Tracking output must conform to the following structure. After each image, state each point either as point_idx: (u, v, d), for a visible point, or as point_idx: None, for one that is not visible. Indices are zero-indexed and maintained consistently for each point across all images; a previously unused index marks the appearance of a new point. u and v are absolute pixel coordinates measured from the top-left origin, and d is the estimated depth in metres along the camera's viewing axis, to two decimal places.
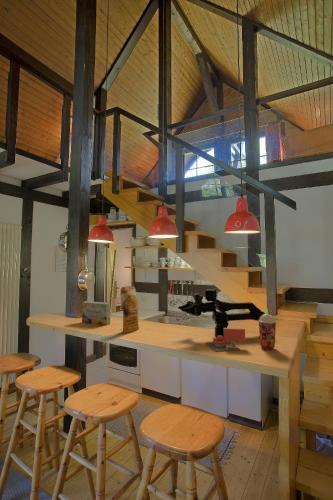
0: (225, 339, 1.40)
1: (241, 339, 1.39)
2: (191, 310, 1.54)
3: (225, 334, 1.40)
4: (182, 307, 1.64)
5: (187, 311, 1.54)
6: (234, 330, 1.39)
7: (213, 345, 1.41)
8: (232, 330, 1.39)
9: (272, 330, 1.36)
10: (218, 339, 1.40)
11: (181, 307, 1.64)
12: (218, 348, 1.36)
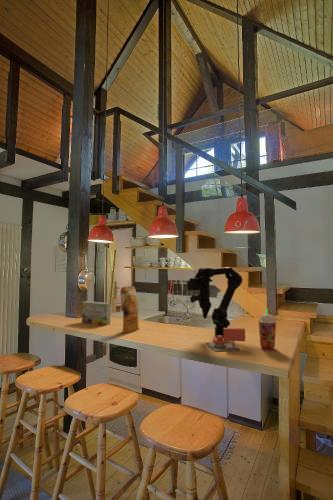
0: (225, 339, 1.40)
1: (241, 339, 1.39)
2: (205, 309, 1.52)
3: (225, 334, 1.40)
4: None
5: (206, 313, 1.52)
6: (234, 330, 1.39)
7: (213, 345, 1.41)
8: (232, 330, 1.39)
9: (272, 330, 1.36)
10: (218, 339, 1.40)
11: None
12: (218, 348, 1.36)
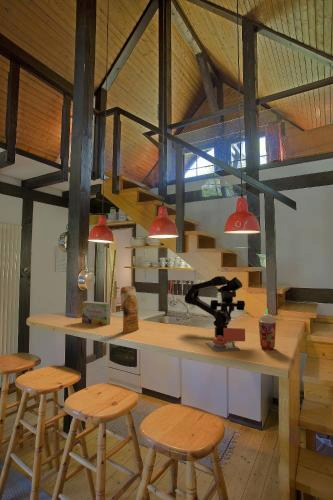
0: (225, 339, 1.40)
1: (241, 339, 1.39)
2: None
3: (225, 334, 1.40)
4: None
5: (230, 313, 1.51)
6: (234, 330, 1.39)
7: (213, 345, 1.41)
8: (232, 330, 1.39)
9: (272, 330, 1.36)
10: (218, 339, 1.40)
11: None
12: (218, 348, 1.36)
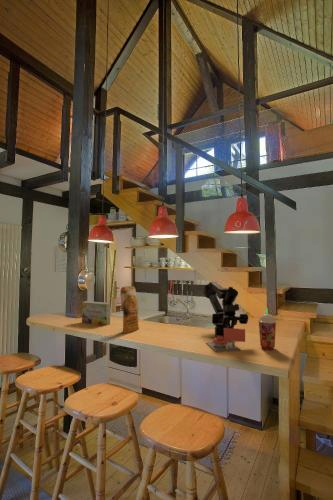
0: (225, 339, 1.40)
1: (241, 339, 1.38)
2: None
3: (225, 334, 1.40)
4: None
5: None
6: (234, 330, 1.39)
7: (213, 345, 1.41)
8: (232, 330, 1.39)
9: (272, 330, 1.36)
10: (218, 339, 1.40)
11: None
12: (218, 348, 1.36)
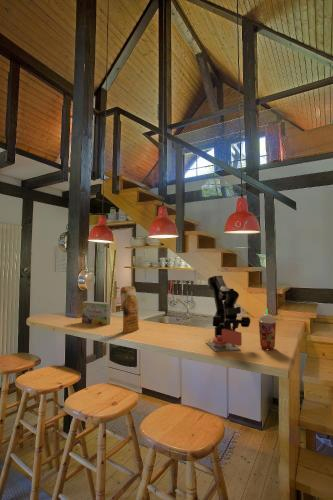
0: (223, 340, 1.38)
1: (236, 343, 1.32)
2: None
3: (222, 335, 1.38)
4: None
5: None
6: (230, 332, 1.35)
7: (213, 345, 1.41)
8: (228, 332, 1.36)
9: (272, 330, 1.36)
10: (217, 339, 1.41)
11: None
12: (218, 348, 1.36)
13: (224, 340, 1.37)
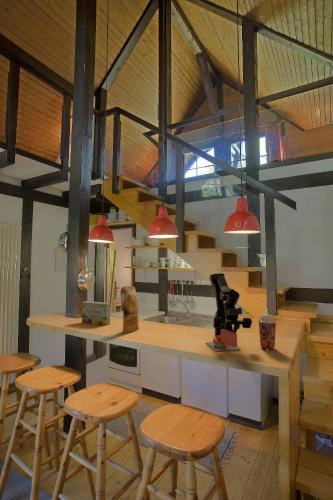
0: (221, 340, 1.38)
1: (231, 343, 1.31)
2: None
3: (221, 335, 1.38)
4: None
5: None
6: (227, 333, 1.34)
7: (213, 345, 1.41)
8: (225, 332, 1.35)
9: (272, 330, 1.36)
10: (216, 338, 1.41)
11: None
12: (218, 348, 1.36)
13: (222, 340, 1.37)
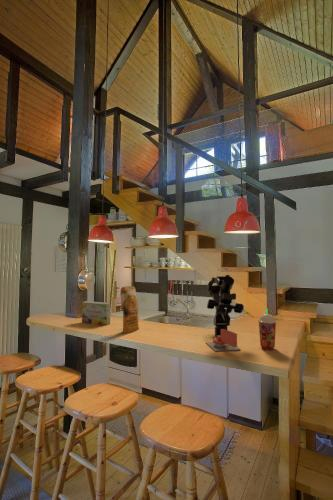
0: (221, 340, 1.38)
1: (231, 343, 1.31)
2: None
3: (221, 335, 1.38)
4: None
5: (227, 316, 1.46)
6: (227, 333, 1.34)
7: (213, 345, 1.41)
8: (225, 332, 1.35)
9: (272, 330, 1.36)
10: (216, 338, 1.41)
11: None
12: (218, 348, 1.36)
13: (222, 340, 1.37)
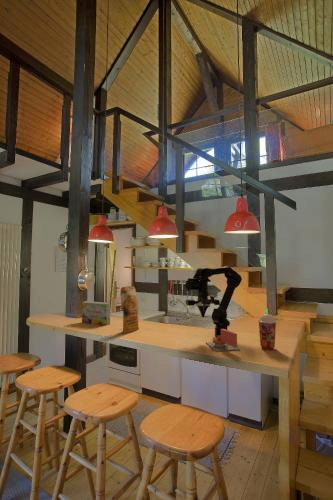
0: (221, 340, 1.38)
1: (231, 343, 1.31)
2: None
3: (221, 335, 1.38)
4: None
5: None
6: (227, 333, 1.34)
7: (213, 345, 1.41)
8: (225, 332, 1.35)
9: (272, 330, 1.36)
10: (216, 338, 1.41)
11: None
12: (218, 348, 1.36)
13: (222, 340, 1.37)
